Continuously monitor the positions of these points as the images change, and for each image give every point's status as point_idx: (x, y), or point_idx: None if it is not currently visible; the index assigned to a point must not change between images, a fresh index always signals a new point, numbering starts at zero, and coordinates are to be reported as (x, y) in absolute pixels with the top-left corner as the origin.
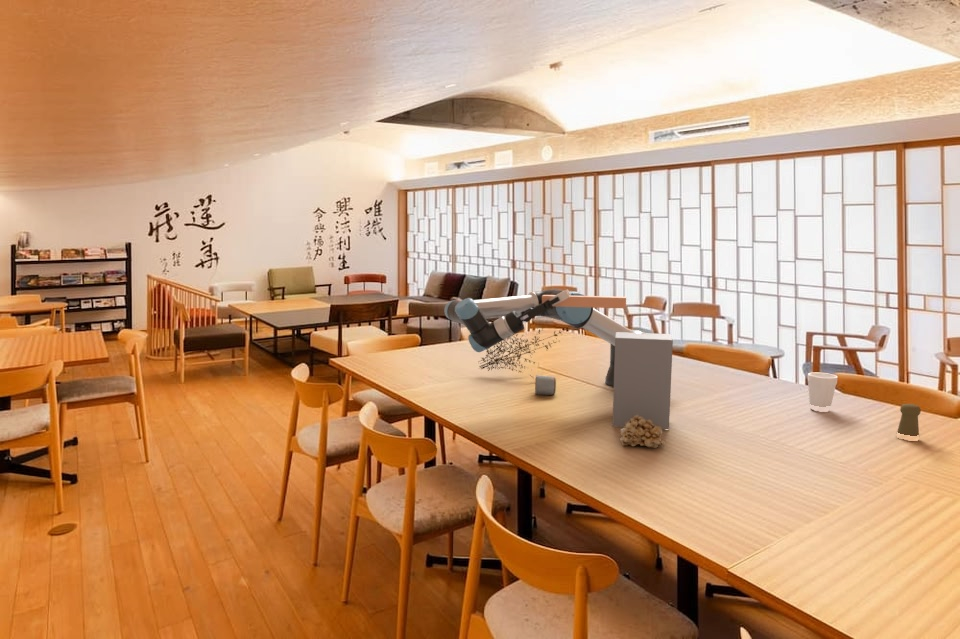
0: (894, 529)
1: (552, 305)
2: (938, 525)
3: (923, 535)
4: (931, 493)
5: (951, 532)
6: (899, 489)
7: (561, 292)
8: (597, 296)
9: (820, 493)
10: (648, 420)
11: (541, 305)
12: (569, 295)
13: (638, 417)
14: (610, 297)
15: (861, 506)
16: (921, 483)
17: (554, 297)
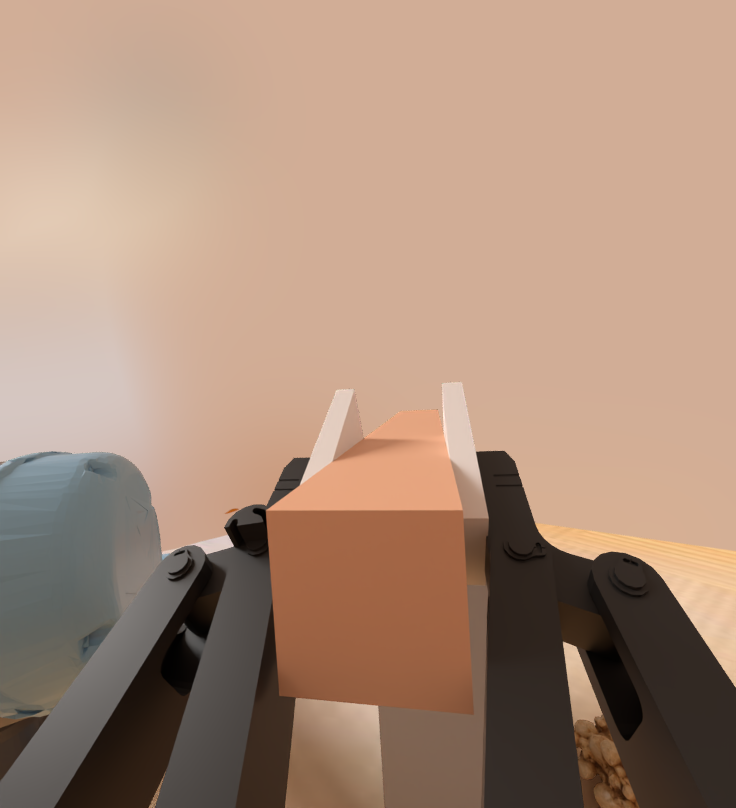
0: (728, 565)
1: (484, 578)
2: (676, 545)
3: (718, 555)
4: (586, 535)
5: (686, 544)
6: (593, 545)
7: (458, 406)
8: (405, 419)
9: (674, 587)
10: (588, 725)
11: (713, 678)
12: (363, 439)
13: (613, 743)
14: (436, 413)
15: (682, 570)
16: (561, 534)
17: (478, 471)
